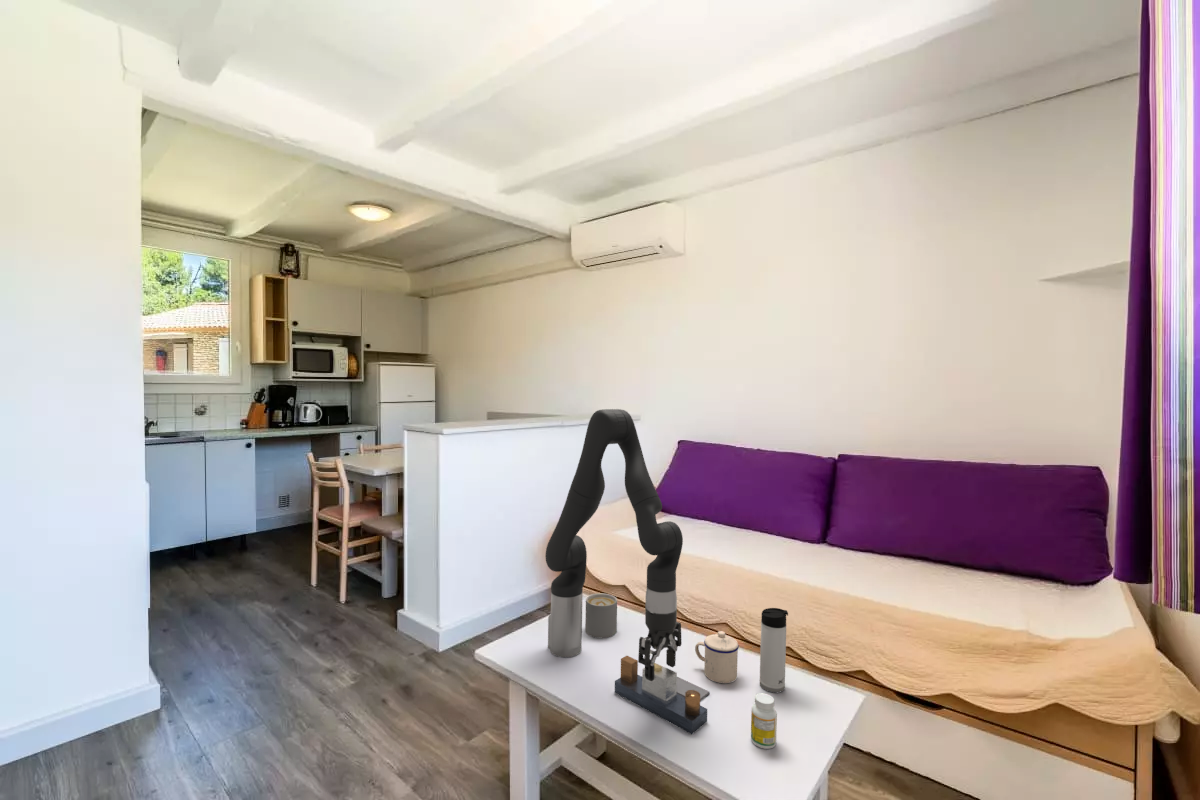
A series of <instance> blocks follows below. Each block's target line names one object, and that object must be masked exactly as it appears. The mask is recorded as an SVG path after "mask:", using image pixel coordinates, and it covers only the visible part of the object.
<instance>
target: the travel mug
mask: <svg viewBox="0 0 1200 800" xmlns="http://www.w3.org/2000/svg"><path fill="white" fill-rule="evenodd" d="M787 616H789V612H788V610H786V609H782V608H777V607H768V608H765V609H763V610H762V612H761V622H760V653H759V654H760V656H759V660H760V661H759V686H760V687H761V688H762V689H763V688H764V691H767V690H768V691H767V692H769V691H771V692H770V693H774V692H778V693H781V692H780V691H782V690H783V691H785V689H786V683H785V682H786V659H787V658H786V657H787V656H786V654H787V653H786V652H787V650H786V649H787ZM784 688H785V689H784ZM783 691H782V692H783Z"/></svg>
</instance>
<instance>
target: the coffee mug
mask: <svg viewBox="0 0 1200 800" xmlns="http://www.w3.org/2000/svg"><path fill="white" fill-rule="evenodd" d="M584 619H585V622H584V623H585V628H584V629H585V633H586V635H588V636H590V637H592V638H596V639H607V638H611V637H613V636H615V635H616V634H617V631H618V630H617V628H618V627H617V626H618V598H617V597H616V596H614V595H612V594H608V593H603V592H602V593H592V594H589V595H588V596H586V598H585V618H584Z"/></svg>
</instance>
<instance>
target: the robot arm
mask: <svg viewBox="0 0 1200 800" xmlns="http://www.w3.org/2000/svg"><path fill="white" fill-rule="evenodd" d="M615 444H617V445H618V447H619V448H620V450H621V452H622V454H623V458H624V465H625V468H624V486H625V492H626V494H627V497H628V499H629V502H630V505H631V507H632V509H633V511H634V513H635V521H636V527H637V533H638V539H639V544H640V545H641V547H642V549H643V550H644V551H645V552H646V553H647V554H649V555H651V556H656V557H655V558H654V560H652V561H650V563H649V564H648V565H647V567H646V589H645V609H644V610H645V612H644V613H645V618H644V620H645V622H644V624H645V625H646V627H647V629H648V634H647V636H645V637H644V636H640V637H639V638H638V640H639V641H638V655H637V656H638V659H637V660H638V663H639V664H641V665H644V668H645V678H646V679H648V680H650V681H653V680H654V663H656V660H657V658H658V657H659V656H660V654H661V652H662V651H663V650H664V649H666V651H665V652H666V656H665V657H666V659H665V660H666V662H665V663H666V665H667V666H668V667H671V668H674V667H675V666H676V660H677V659H676V657H677V656H676V652H677V651H678V648H679V647H682V624H681V622H678V621H677V619H678V618H677V617H678V614H677V609H678V601H677V600H678V595H677V568H678V565H679V561H680V557H681V554H682V550H683V542H684V541H683V537H684V536H683V533H682V530H681V528H680V527H679V525H678V524H677V523H675V522H673V521H667V520H666V521H663V522H660V523H658V522H657V517H656V516H657V514H659V513H660V512H661V511H662V509H663V504H662V501H661V499H660V497H659V494H658V492H657V490H656V487H655V485H654V483H653V481H652V478H651V476H650V473H649V471H648V469H647V465H646V461H645V457H644V454H643V449H642V446H641V443H640V439H639V436H638V432H637V428H636V426H635V422H634V419H633V418H632V416H631V414H630V413H629V412H628V411H627V410H625V409H621V408H620V409H619V408H616V409H615V408H614V409H613V408H612V409H611V408H610V409H609V408H608V409H607V408H606V409H598V410H596V411H595V412H593V414H592V415H591V417H590V419H589V421H588V424H587V429H586V432H585V437H584V441H583V446H582V450H581V453H580V458H579V461H578V464H577V467H576V470H575V474H574V476H573V478H572V481H571V484H570V488H569V490H568V493H567V496H566V499H565V502H564V506H563V508H562V510H561V513H560V515H559V516H560V517H559V518H558V521H557V523H556V526H555V528H554V530H553V531H552V533H551V536H550V539H549V541H548V543H547V545H546V548H545V549H546V550H545V563H546V565H547V567H548V569H549V570H551V571H552V572H555V573H556V572H557V573H559V575H557V576H556V577H555V578H554V579H553V580H552V582H551V584H550V614H549V615H548V616H547V617H548V619H547V623H548V624H547V648H548V649H549V651H550V653H551V654H552V655H554V656H556V657H560V658H571V657H572V658H573V657H576V656H578V655H579V654H580V653H581V652H582V649H583V648H582V645H583V644H582V642H583V639H582V638H583V588H584V584H585V583H586V576H587V575H586V574H587V573H586V572H587V556H588V555H587V552H588V551H587V547H586V543H585V542H584V540H583V538H582V536H579V535H577V534H578V533H579V532H580V531H581V529H582V528H583V527H584V526H585V525H586V524H587V523H588V522H589V521H590V519H591V518H592V517H593V516H594V515H595V513H596V512H597V510H598V508H599V506H600V504H601V502H602V497H604V496H603V495H604V492H605V489H606V488H605V487H606V483H605V476H604V473H603V467H602V461H603V457H604V454H605V451H606V449H607V447H608V446H609V445H615ZM651 648H652V649H653V650H652V649H651Z"/></svg>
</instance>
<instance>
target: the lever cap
mask: <svg viewBox="0 0 1200 800" xmlns="http://www.w3.org/2000/svg"><path fill="white" fill-rule="evenodd" d="M641 674H642V689H643V690H645V691H647V692H649V693H651V694H653V695H655V696H657V697H659V698H661V699H663V700H665V701H666V700H668V699H669V698H670V697H672V696H673V695H675V694H676V688H677V677H678V676H677V675H678V672H676V671H673V670H671V669H670V668H667V667H666V666H663V665H661V664H659V663H657V662H655V663H654V680H653V681H650V680H648V679H646V678H645V667H643V668H642V673H641Z"/></svg>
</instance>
